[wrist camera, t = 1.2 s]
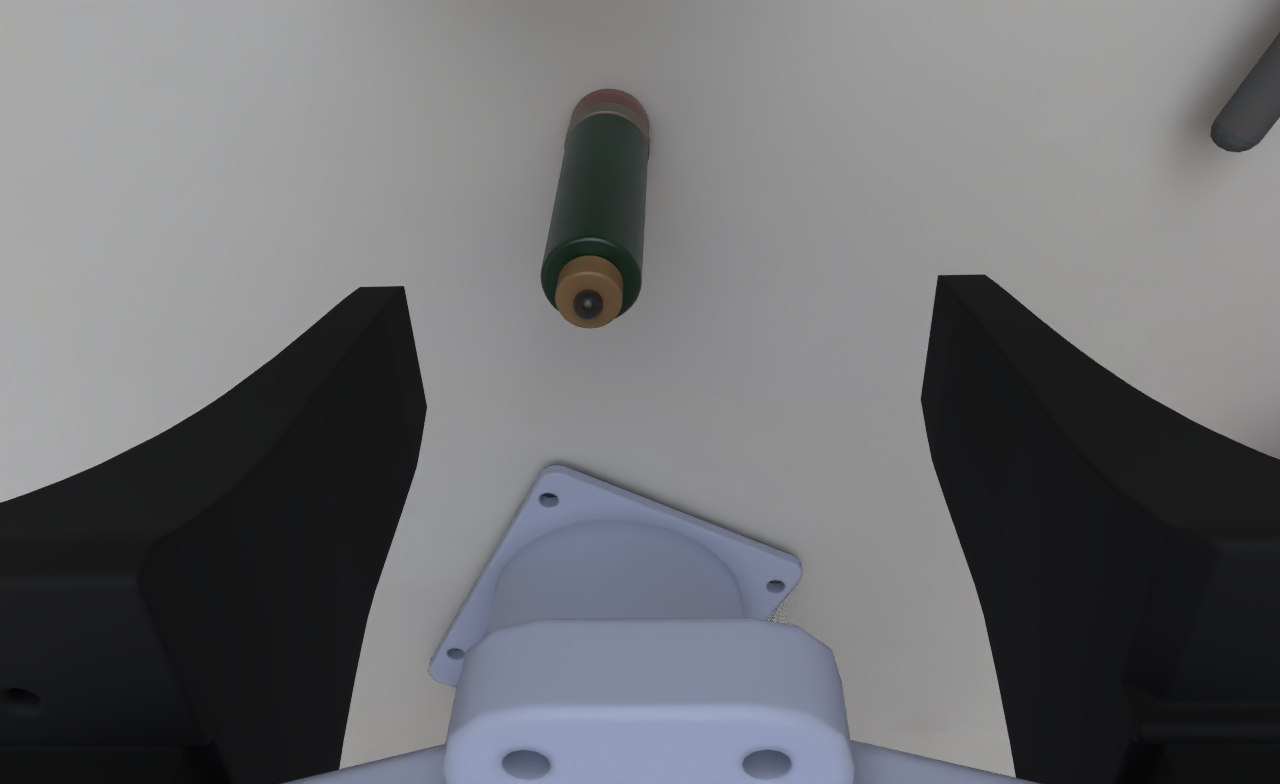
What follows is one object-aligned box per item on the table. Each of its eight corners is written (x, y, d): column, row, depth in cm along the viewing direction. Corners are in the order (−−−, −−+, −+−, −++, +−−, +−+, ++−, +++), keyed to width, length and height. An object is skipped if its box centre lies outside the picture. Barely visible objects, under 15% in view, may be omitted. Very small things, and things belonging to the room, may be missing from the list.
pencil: (628, 176, 24) (613, 373, 18) (556, 143, 24) (515, 332, 18) (664, 109, 23) (660, 292, 17) (589, 72, 23) (559, 247, 17)
